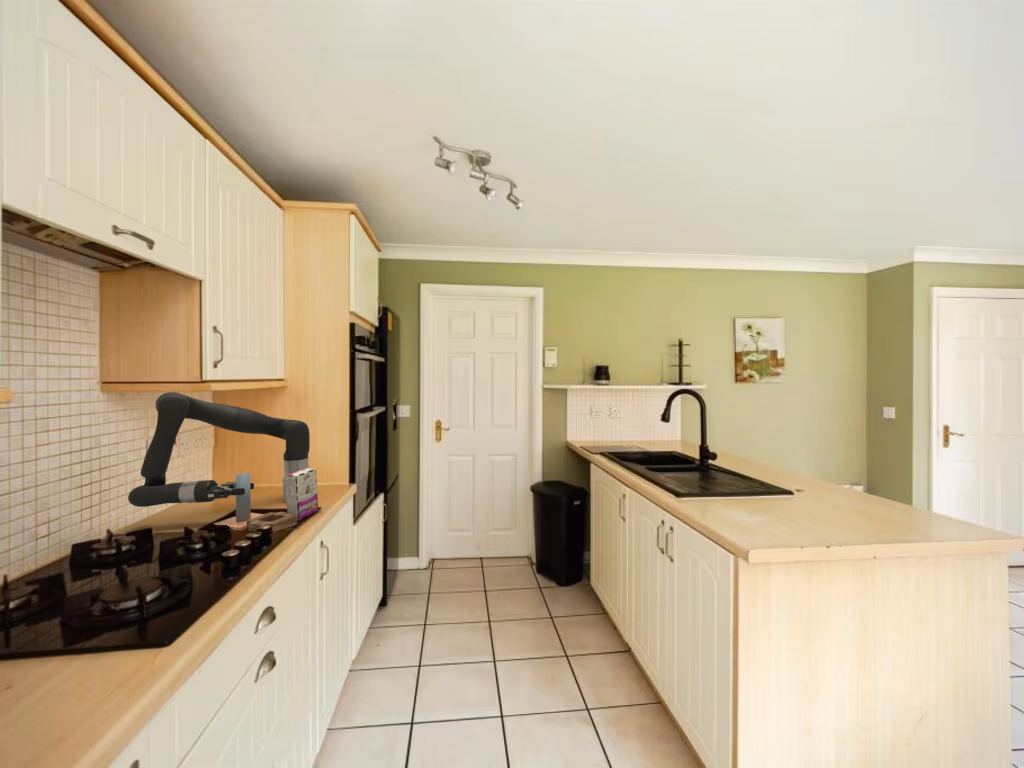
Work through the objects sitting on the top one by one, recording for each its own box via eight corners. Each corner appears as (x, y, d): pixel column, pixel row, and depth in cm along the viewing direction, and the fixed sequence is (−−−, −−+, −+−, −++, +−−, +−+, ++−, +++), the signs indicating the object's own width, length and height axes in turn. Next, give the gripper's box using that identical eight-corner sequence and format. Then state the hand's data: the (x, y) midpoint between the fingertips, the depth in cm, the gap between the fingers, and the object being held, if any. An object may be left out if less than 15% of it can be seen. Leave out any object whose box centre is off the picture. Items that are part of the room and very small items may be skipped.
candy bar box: (307, 510, 170) (305, 468, 169) (318, 511, 169) (317, 468, 168) (286, 520, 159) (284, 475, 158) (298, 521, 158) (296, 475, 157)
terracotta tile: (213, 526, 154) (213, 523, 154) (247, 514, 166) (247, 512, 166) (239, 530, 149) (239, 527, 149) (272, 518, 161) (272, 515, 161)
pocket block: (242, 530, 149) (242, 522, 149) (274, 519, 161) (274, 510, 160) (269, 535, 144) (268, 526, 144) (300, 522, 156) (300, 514, 156)
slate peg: (233, 520, 156) (232, 475, 156) (244, 516, 161) (244, 472, 160) (241, 522, 155) (241, 476, 155) (253, 518, 159) (253, 474, 159)
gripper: (185, 486, 148) (239, 483, 150) (209, 476, 162) (257, 473, 165) (187, 508, 148) (240, 505, 151) (209, 496, 163) (258, 493, 165)
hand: (249, 488), depth 158 cm, fingers open, 6 cm apart
